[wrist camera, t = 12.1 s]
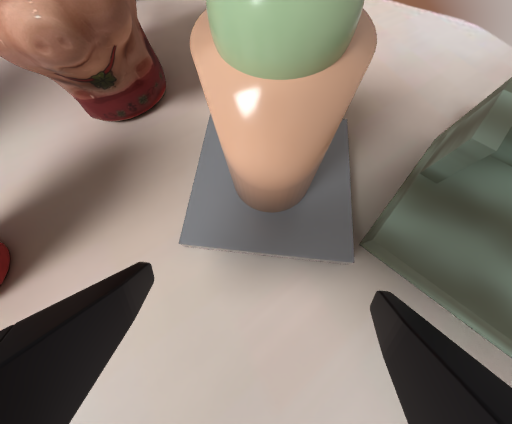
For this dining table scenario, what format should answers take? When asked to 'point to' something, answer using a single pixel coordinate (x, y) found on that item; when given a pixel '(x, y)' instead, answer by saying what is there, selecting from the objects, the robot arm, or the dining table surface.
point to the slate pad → (277, 223)
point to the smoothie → (3, 261)
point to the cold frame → (459, 221)
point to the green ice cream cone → (279, 87)
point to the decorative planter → (86, 52)
